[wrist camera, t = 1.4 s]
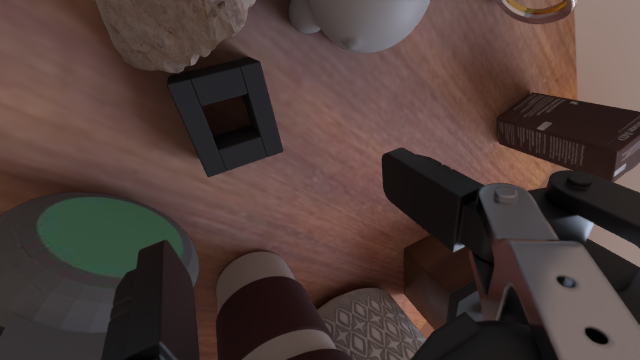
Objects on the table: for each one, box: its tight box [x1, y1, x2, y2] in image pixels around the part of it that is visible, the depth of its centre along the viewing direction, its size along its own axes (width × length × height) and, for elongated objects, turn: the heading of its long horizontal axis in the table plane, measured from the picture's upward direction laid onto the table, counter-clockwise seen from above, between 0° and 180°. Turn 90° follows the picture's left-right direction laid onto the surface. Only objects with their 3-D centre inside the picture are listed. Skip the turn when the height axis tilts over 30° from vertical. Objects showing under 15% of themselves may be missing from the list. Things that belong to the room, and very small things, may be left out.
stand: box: [404, 235, 475, 330], centre depth 39 cm, size 10×10×8 cm
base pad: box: [446, 280, 482, 323], centre depth 35 cm, size 10×10×4 cm
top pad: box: [167, 57, 283, 177], centre depth 20 cm, size 6×6×3 cm
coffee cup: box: [216, 251, 352, 360], centre depth 23 cm, size 10×10×15 cm
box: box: [497, 93, 640, 182], centre depth 31 cm, size 6×4×12 cm
